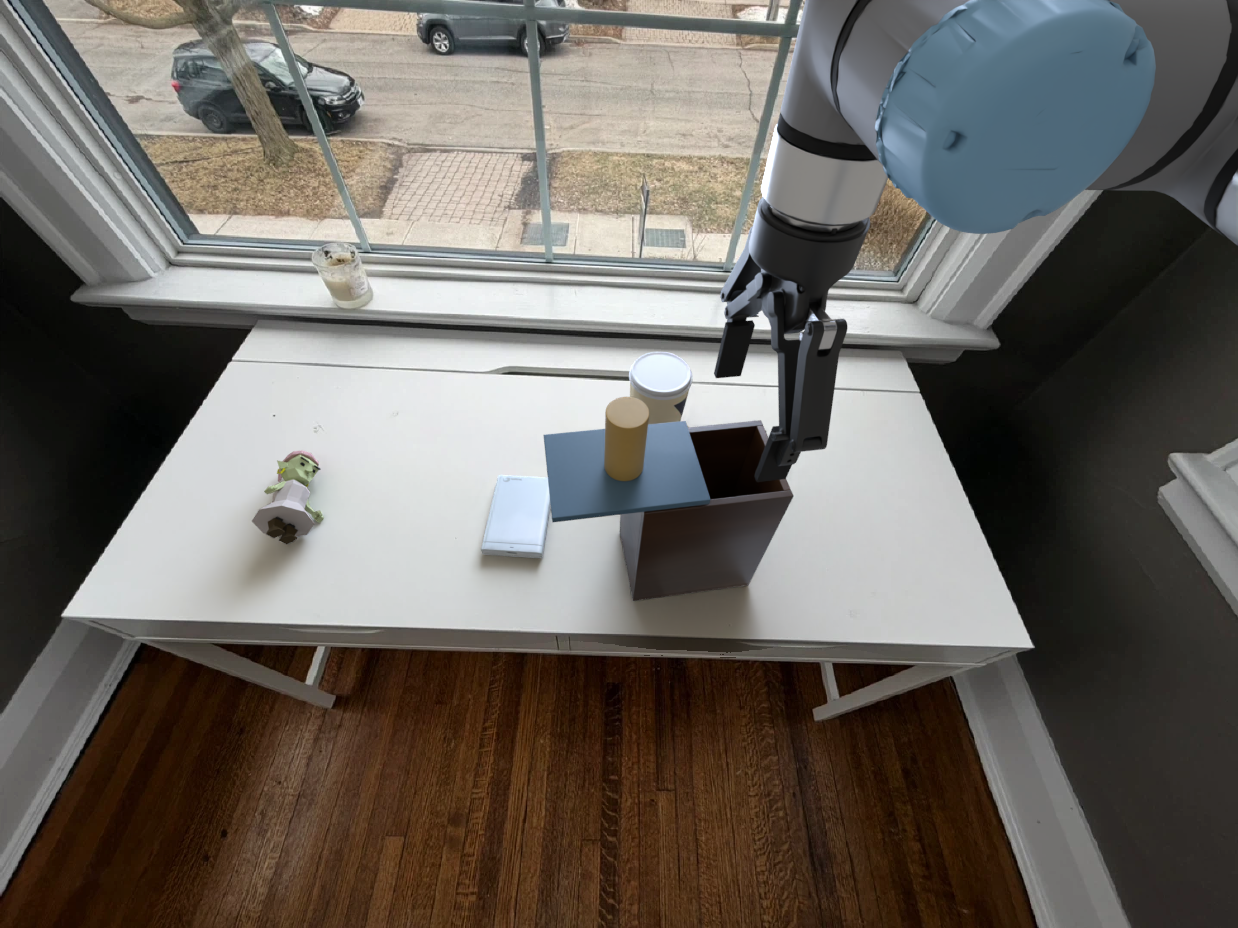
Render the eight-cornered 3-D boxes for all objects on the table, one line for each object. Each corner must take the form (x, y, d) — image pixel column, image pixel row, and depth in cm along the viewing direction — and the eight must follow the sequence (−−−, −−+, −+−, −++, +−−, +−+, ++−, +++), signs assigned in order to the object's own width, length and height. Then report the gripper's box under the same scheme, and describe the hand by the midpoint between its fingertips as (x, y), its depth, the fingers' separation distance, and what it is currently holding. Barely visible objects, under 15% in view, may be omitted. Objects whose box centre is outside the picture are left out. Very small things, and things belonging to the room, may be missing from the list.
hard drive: (497, 474, 80) (480, 548, 72) (553, 477, 80) (541, 552, 72) (499, 480, 81) (482, 554, 74) (554, 484, 81) (542, 558, 74)
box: (748, 585, 72) (793, 496, 56) (632, 601, 70) (644, 513, 54) (726, 518, 79) (761, 419, 62) (619, 531, 77) (626, 433, 60)
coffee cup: (683, 450, 86) (694, 395, 77) (624, 446, 86) (628, 392, 77) (682, 407, 92) (692, 351, 82) (626, 404, 92) (630, 348, 82)
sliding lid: (709, 504, 54) (726, 447, 47) (552, 522, 52) (545, 466, 45) (684, 425, 61) (696, 365, 54) (543, 439, 59) (537, 379, 52)
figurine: (271, 510, 66) (295, 424, 76) (226, 534, 68) (255, 447, 77) (329, 541, 72) (344, 458, 82) (286, 562, 74) (307, 478, 84)
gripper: (970, 314, 29) (834, 525, 46) (801, 128, 45) (745, 337, 61) (839, 324, 28) (749, 536, 45) (712, 131, 44) (680, 342, 60)
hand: (746, 422), depth 53 cm, fingers open, 13 cm apart
